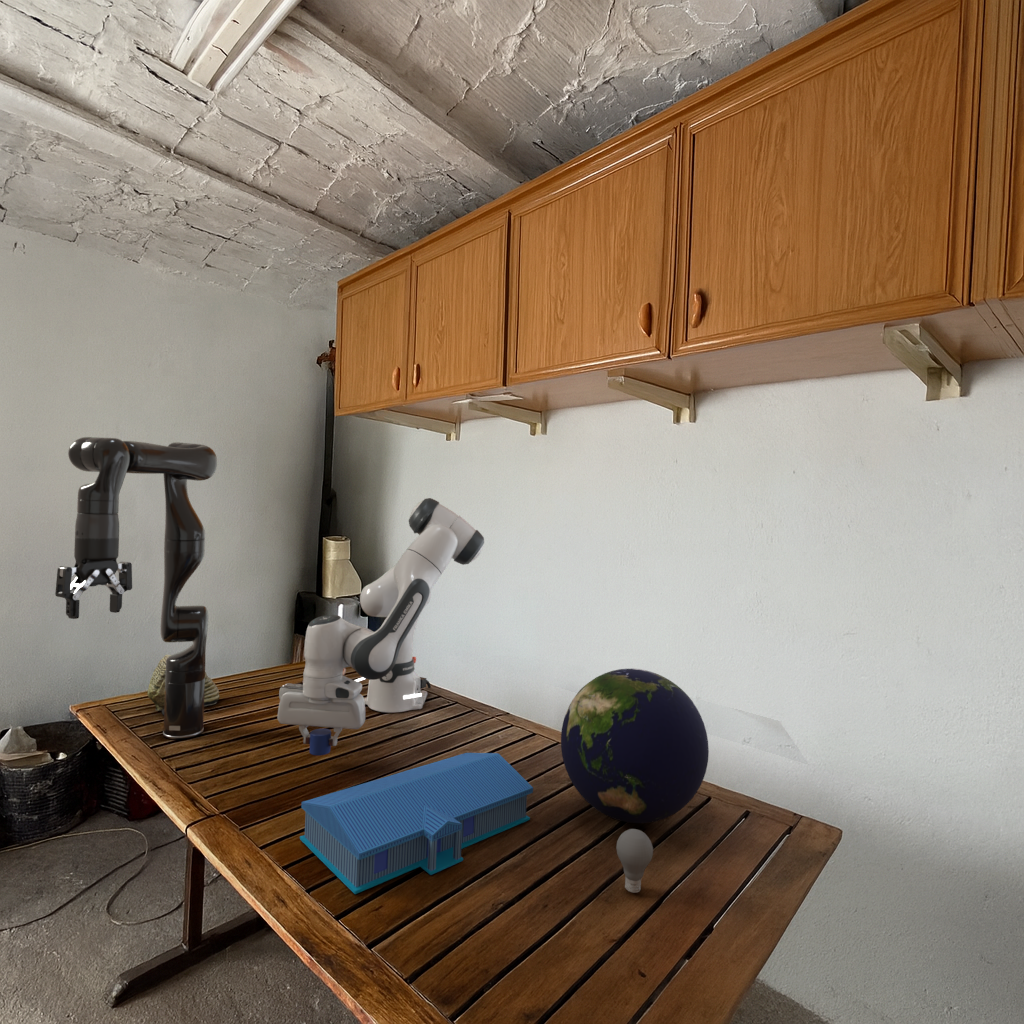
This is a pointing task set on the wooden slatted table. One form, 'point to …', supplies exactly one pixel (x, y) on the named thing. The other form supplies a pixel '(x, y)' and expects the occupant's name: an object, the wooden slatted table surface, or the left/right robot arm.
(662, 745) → the globe
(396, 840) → the model building
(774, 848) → the wooden slatted table surface
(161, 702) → the fossil
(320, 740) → the canister
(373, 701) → the right robot arm
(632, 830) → the light bulb
